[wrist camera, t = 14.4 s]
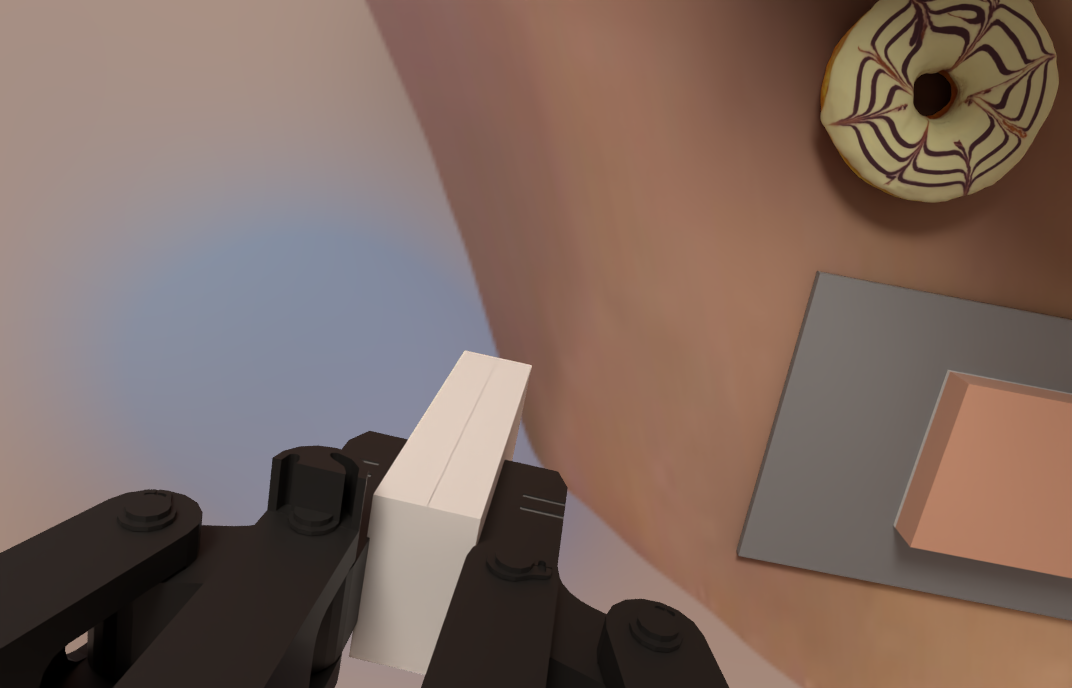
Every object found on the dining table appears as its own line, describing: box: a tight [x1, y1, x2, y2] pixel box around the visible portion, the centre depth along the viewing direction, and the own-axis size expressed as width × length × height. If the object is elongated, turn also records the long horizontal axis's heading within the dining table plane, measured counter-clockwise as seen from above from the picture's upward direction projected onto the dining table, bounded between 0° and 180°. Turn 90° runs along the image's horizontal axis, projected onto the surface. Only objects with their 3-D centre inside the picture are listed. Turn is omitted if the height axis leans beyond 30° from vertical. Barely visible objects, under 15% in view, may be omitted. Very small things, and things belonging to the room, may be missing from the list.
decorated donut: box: [820, 0, 1059, 202], centre depth 38 cm, size 10×11×4 cm
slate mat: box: [737, 271, 1072, 621], centre depth 45 cm, size 18×24×1 cm
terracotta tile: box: [894, 370, 1072, 578], centre depth 43 cm, size 10×2×12 cm
